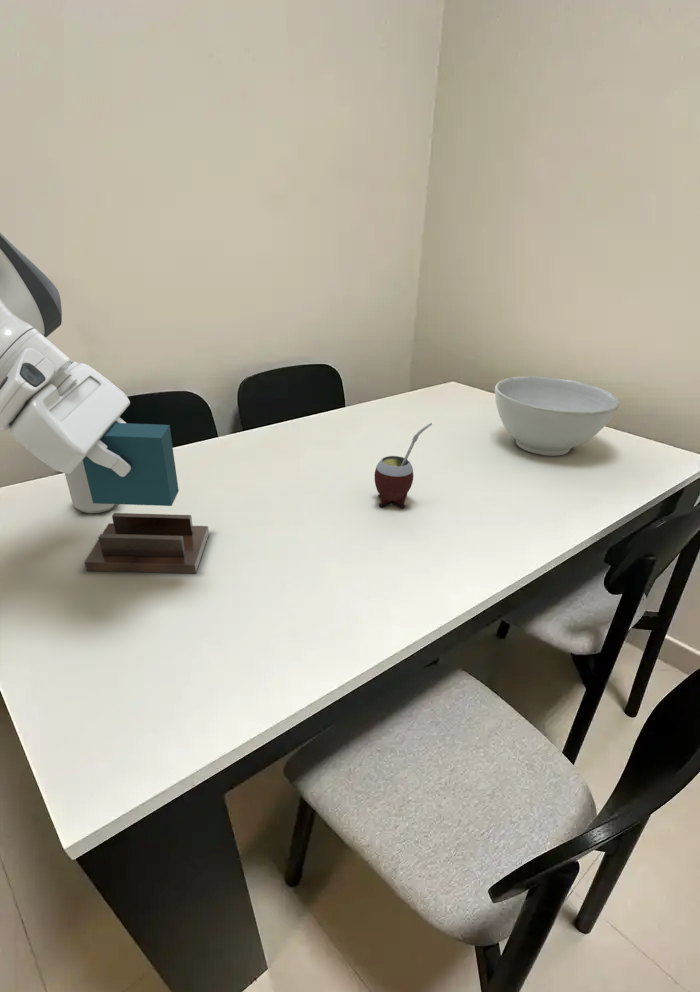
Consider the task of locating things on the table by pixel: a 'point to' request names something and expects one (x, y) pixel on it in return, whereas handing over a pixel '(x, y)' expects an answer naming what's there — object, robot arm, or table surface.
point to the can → (83, 492)
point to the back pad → (136, 467)
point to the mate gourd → (395, 477)
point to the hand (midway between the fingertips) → (135, 462)
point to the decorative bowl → (552, 412)
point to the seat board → (149, 544)
